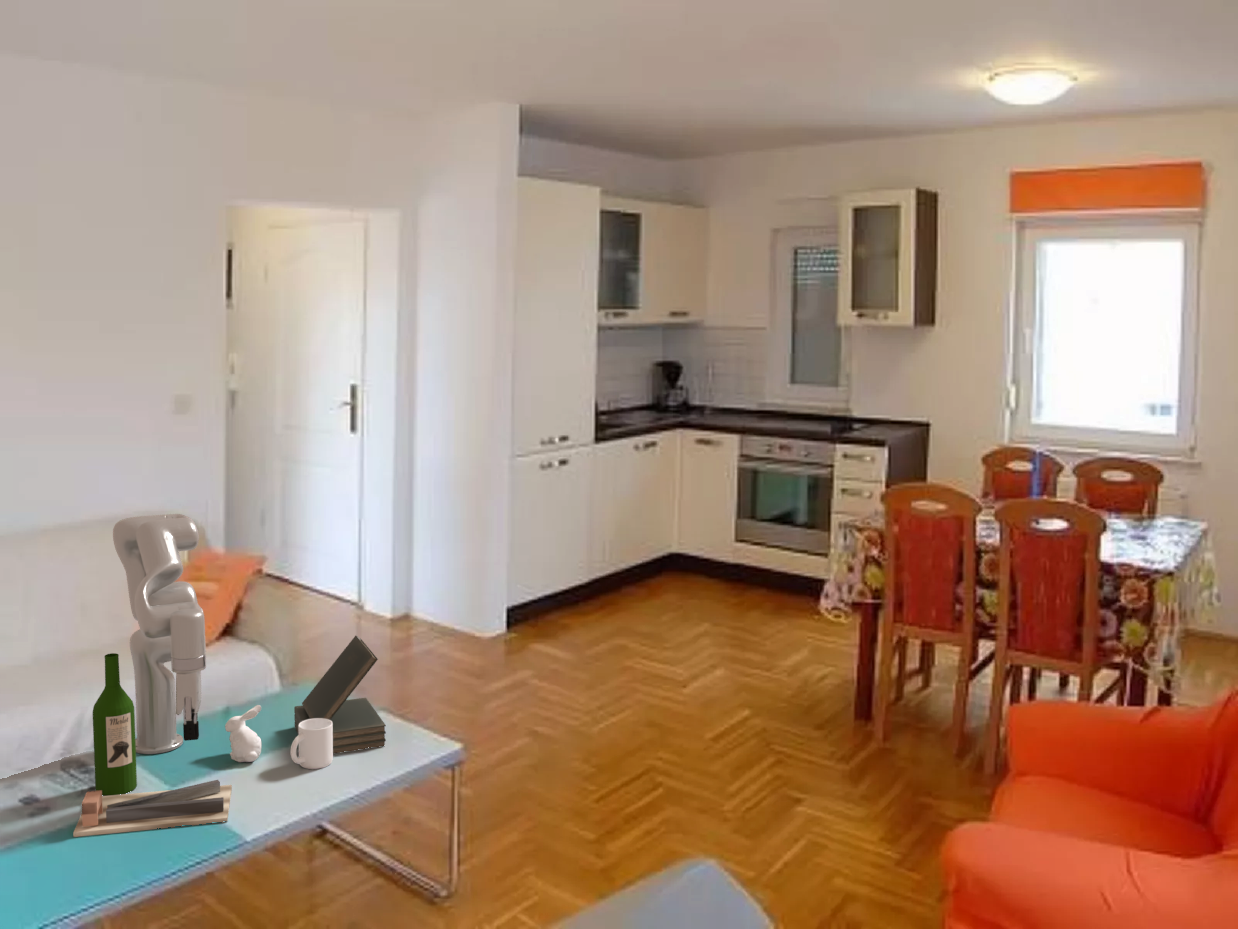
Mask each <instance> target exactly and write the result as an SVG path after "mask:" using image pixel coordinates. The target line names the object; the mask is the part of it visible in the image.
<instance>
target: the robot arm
mask: <svg viewBox="0 0 1238 929" xmlns="http://www.w3.org/2000/svg"><path fill="white" fill-rule="evenodd" d="M112 541H113V545H114V548H115V552H116V554H117V556H118V558H119V560H120V562H121V564H122V565H123V568H124V571H125V575H126V581H127V582H126V583H127V589H128V590H127V591H128V597H129V604H130V610H131V614H132V616H133V618H134V619H135V621H137V623H138V628H139V629H137V630H136V631H134V632H133V633H132V634H131V635H130V639H129V650H130V651H129V652H130V654H131V660H132V664H133V674H134V688H135V689H134V690H135V692H134V693H135V715H136V716H135V719H136V720H135V725H136V737H135V743H136V754H140V755H141V754H142V755H155V754H157V755H158V754H162V753H167V752H170V751H174V750H175V749H178V748H179V747H181V746H182V745H183V743H184V742H185V741H195V740H196V741H197V740H199V737H200V729H199V726H200V725H199V720H198V712H199V711H200V706H201V702H202V671H204V670H206V668H207V654H206V652H207V650H206V623H205V622H206V621H205V612H204V609H203V608H202V607H201V606H200V604H199V603H198V602H199V601H198V598H197V594H196V591H195V588H194V586H193V585H192V584H191V583H190V582H188V581H183V580H181V581H177V580H178V579H179V578H181V576H182V574H183V573H184V565H183V563H182V562H183V561H182V559H181V556H180V553H179V552H185V551H192V550H195V549H196V548H197V547H198V545H199V541H200V534H199V530H198V527H197V525H196V523H195V521H194V520H193V519H192V518H191V517H189V516H186V515H183V514H182V513H170V514H169V513H167V514H157V515H156V514H155V515H153V514H152V515H141V516H132V517H126V518H124V519H121V520H119V521H117V522H116V523H115V524H114V525H113V529H112ZM169 662H170V663H171V664H170V666H171V670H170V669H169V668H168V667H166V666H165V665H164V664H165V663H169ZM174 673H175V674H176V675H175V676H174ZM181 714H183V715H182V716H183V724H182V726H183V727H182V728H183V736H182V735H181V734H179V733H178V732H177V716H180V715H181Z"/></svg>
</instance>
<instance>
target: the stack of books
mask: <svg viewBox="0 0 1238 929" xmlns="http://www.w3.org/2000/svg"><path fill="white" fill-rule="evenodd" d="M378 660H379V658H378V657H377V655H375V654H374V652H373V651H372V650H371V649H370V648H369V646H367V644H366V643H365V641H363V639H361V637H359V636H358V635H354V637H353V638H352V639H351V640H350V642H349V643H348V644H347V646H346V647H345V648H344V649H343V651H342V652H341V653H340V654H339V655H338V657H337V658H336V659H335V661H334V662H333V663H332V665H331V666H330V667H329V668H328V670H327V671H326V672H324V675H323V676H322V677H321V679H319V681H318V682H317V684H316V685H314V687H313V689H312V690H311V691H310V692H309V693H308V695H307V696H306V697H305V699H304V700H303V701H302V702H301V705H296V706H294V709H293V710H294V729H295V731H296V733H297V734H298V725H299V723H300V722H302V721H304V720H307V719H313V718H325V719H329V720H331V721H332V723H333V755H334V753H336V754H341V753H340V752H343V753H345V752H344V751H350V752H355V751H354V750H356V751H359V750H358V749H363V750H366V749H365V748H368V747H369V748H370V749H372V748H371V747H377V748H380V747H379V746H384V745H385V744H386V743H385V742H386V741H387V740H386V738H385V736H386V735H385V734H387V732H386V729H385V727H386V723H385V722H384V721H383V719H382V718H381V716H380V714H378V712H377V711H376V710H375V708H374V706H373V705H372V704H371V703H370V701H369V700H368V698H367V697H359V698H352V699H348V698H349V697H350V696H351V694H352V693H353V692H354V691H355V689H356V688H357V686H358V685H359V684H360V683H361V681H362V680H363V679H364V678H365V676H366V675H367V674H368V673H369V671H370V670H371V669H372V668H373V666H375V664H376V663H377V661H378ZM384 747H385V746H384Z"/></svg>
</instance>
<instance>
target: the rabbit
mask: <svg viewBox="0 0 1238 929" xmlns="http://www.w3.org/2000/svg"><path fill="white" fill-rule="evenodd" d="M261 711H262V706H261V705H260V704H257V705H255V706H253V707H251V709H249V710H248V711H246V712H245V713H243V714H242V715H235V716H232V717H230V718H229V719H228V720H227V722H226V723H225V725H224V728H225V731H226V732H228V733H230V734H229V742H230V747H231V752H230V753H229V756H230V759H231V760H233V761H234V762H235V761H236V762H238V763H245V762H246V763H251V762H254V761H257V759H259V757H260V755H261V753H262V739H261V737H260V736H258V734H257V732H256V731H254V730H253V729H251V728H250V727H249V726H247V725H246V721H248V720H251V719H254V718H255V717H257V715H258V714H259V713H260V712H261Z"/></svg>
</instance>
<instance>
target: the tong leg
mask: <svg viewBox="0 0 1238 929" xmlns="http://www.w3.org/2000/svg"><path fill="white" fill-rule="evenodd" d="M220 786H221V781H219V779H215V780H209V781H206V782H202V783H197V784H192V785H189V786H184V787H180V788H179V787H178V788H176V789H170V790H171V791H167V792H162V793H158V794H154V795H149V796H145V797H141V798H136V799H132V800H128V801H123V802H119V803H115V804H110V805H107V808H113V807H123V806H134V805H145V804H156V803H167V802H178V801H184V800H188V799H192V798H196V797H201V796H205V795H209V794H213V793H217V792H220Z"/></svg>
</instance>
